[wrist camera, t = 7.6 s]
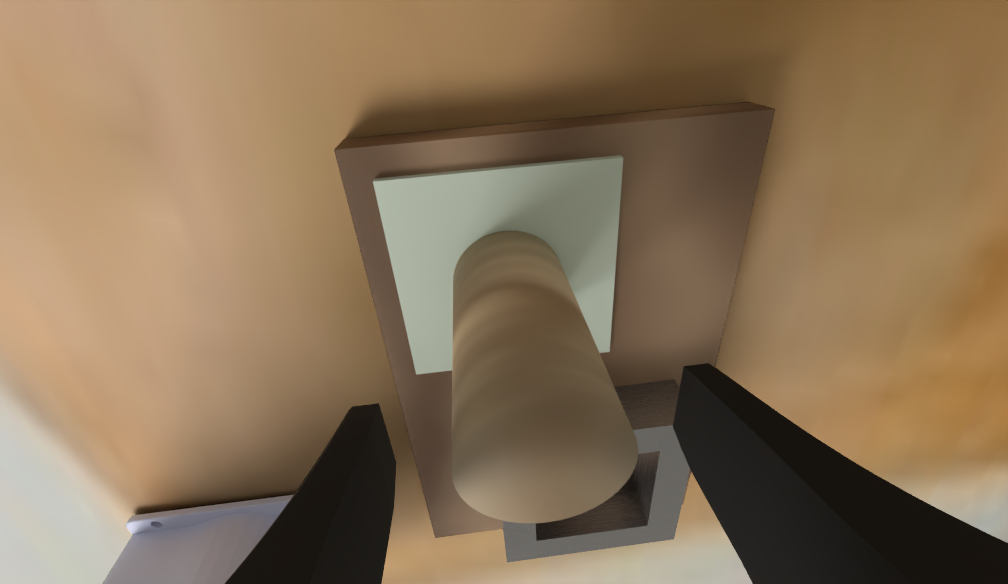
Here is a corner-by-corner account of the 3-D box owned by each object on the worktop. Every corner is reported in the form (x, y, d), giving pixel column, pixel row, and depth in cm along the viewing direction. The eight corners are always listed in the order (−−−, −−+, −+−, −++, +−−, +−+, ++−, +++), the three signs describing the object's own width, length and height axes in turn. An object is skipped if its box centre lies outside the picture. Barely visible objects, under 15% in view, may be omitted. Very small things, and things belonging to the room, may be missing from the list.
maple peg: (462, 333, 17) (467, 534, 11) (443, 239, 15) (434, 416, 8) (564, 317, 17) (634, 508, 11) (559, 222, 15) (642, 384, 9)
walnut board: (436, 512, 26) (435, 537, 25) (344, 138, 15) (334, 149, 14) (672, 480, 27) (683, 504, 25) (748, 102, 16) (775, 109, 14)
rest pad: (416, 369, 18) (416, 374, 18) (374, 178, 14) (372, 181, 14) (607, 347, 19) (609, 351, 19) (620, 155, 15) (623, 157, 14)
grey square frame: (502, 514, 24) (507, 562, 22) (489, 401, 20) (493, 447, 18) (654, 494, 25) (673, 539, 22) (674, 379, 20) (700, 421, 18)
